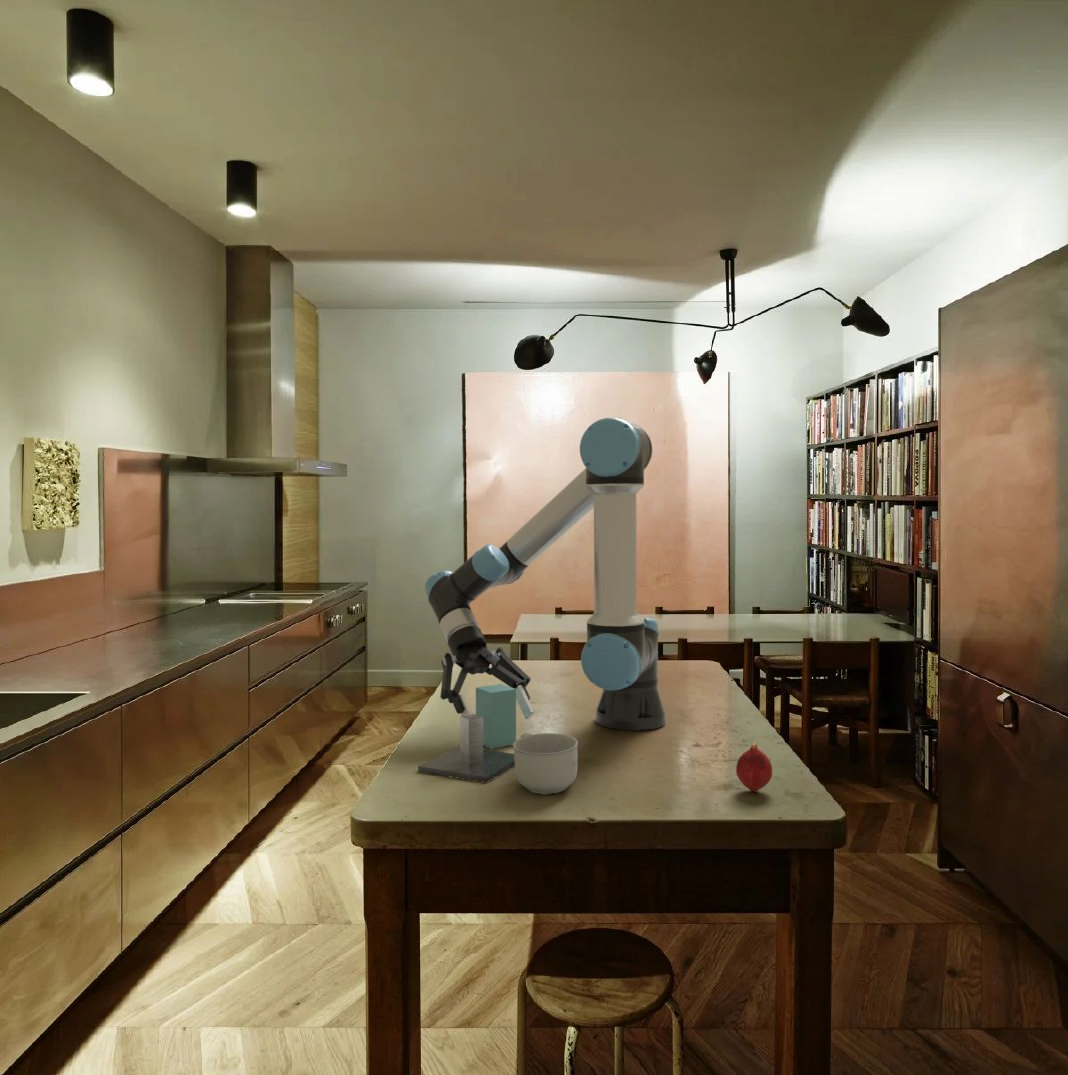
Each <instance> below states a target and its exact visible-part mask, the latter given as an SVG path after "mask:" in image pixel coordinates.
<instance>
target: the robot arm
mask: <svg viewBox="0 0 1068 1075" xmlns="http://www.w3.org/2000/svg"><path fill="white" fill-rule="evenodd" d="M579 455H580V459H581V461H582V465H583V466H584V467H585V468H584V469H583V470H582V471H581V472H580V473H579V474H578V475H577V476H576V477H575V478H573V480H572V481H570V482H569V483H568V484H567V485H566V486H565V487H563V489H562V490H561V491H559V492H558V493H557V494H556V495H555V496H554V497H553V498H552V499H551V500H550V501H549V502H548V503H546V504H545V505H544V506H543V507H542V508H541V509H540V510H539V511H538V512H537V513H536V514H534V515H533V516H532V517H531V518H530V519H529V520H528V521H527V522H526V523H525V524H524V525H523V526H521V527H520V528H519V529H518V530H517V531H516V532H515V533H514V534H513V535H512V536H510V537H509V539H507V541H506V542H504V543H503V544H502V545H501V546H500V547H499V548H498V547H497V546H495V545H493V544H486V545H484V546H483V547H482V548H480V549H479V550H476V551H475V552H474V554H473V555H471V556H470V557H469V558H468V559H467V560H466V561H464V562H463V563H462V564H461V565H460V566H459V567H458V568H457V569H456V570H455V571H451V570H440V571H438V572H437V573H434V574H431V576H429V577H428V578H427V579H426V581H425V584H424V589H425V594H426V596H427V601H428V603H429V605H430V606H431V609H432V610H433V613H434V615H435V617H436V620H437V622H438V624H439V627H440V629H441V631H442V634H443V636H444V638H445V641H446V642H447V646H448V648H449V650H450V652H446V653H445V654H444V656H443V658H442V659H441V665H442V669H443V670H442V671H443V672H442V678H441V679H442V680H441V690H440V699H441V700H444V701H445V700H446V699H447V700H448V703H449V704H453V707H454V709H455V711H456V713H457V714H459V715H461V716H466V715H472V714H473V712H472V709H471V707H470V704H469V702H468V700H467V698H466V695H465V693H464V692H463V693H461V690H462V688H463V685H464V682H465V680H466V678H467V675H468V674H470V675H473V676H474V675H476V674H485V673H486V674H487V675H489V676H491V675H492V676H494V677H495V678H497V679H498V680H499V681H501V682H503V683H504V685H506V686H508V687H511V688H514V689H516V703H517V704H518V706H519V708H520V710H521V713H522V715H523V717H524V719H525V720H530V718H531V717H532V716H533V714H534V713H535V710H534V708H533V706H532V703H531V702H530V700H531V696H530V693H529V692H528V689H527V686H528V685H529V684H530V682H531V679H532V678H531V677H530V676H529V675H528V674H527V673H526V672H525V671H523V669H521V668H520V667H519V666H518V665H517V664H516V663H515V662H514V661H513V660H512V659H511V658H510V657H509V656H507V654H506V653H505V651H504V649H503V648H502V647H501V646H499V647H497V648H496V650H492V651H491V650H490V649H489V648H488V646H487V642H486V639H485V636H484V634H483V631H482V630H481V628H480V625H479V623H478V620H477V618H476V617H475V614H474V613H473V610H472V608H471V606H470V604H471V603H473V602H474V601H475V600H476V599H477V598H478V597H479V596H481V595H482V594H483V593H484V592H486V591H487V590H489V589H490V588H495V587H498V586H503V585H509V584H513V583H515V582H516V581H518V580H519V579H520V578H521V577H522V576H523V574H524V572H525V570H526V569H527V568H528V567H529V566H530V565H531V564H532V563H533V562H535V561H536V560H537V559H538V558H540V556H542V554H544V553H545V552H546V551H547V550H548V549H549V548H551V547H552V545H554V544H555V543H556V542H557V541H558V540H559V539H560V538H561V537H563V536H564V535H565V534H566V533H567V532H569V530H571V528H572V527H574V526H575V525H576V524H578V522H579V521H580V520H581V519H582V518H584V516H586V515H587V514H588V513H589V512H590V511H591V510H593V581H594V582H593V584H594V585H593V588H594V589H593V593H594V594H593V595H594V596H593V598H594V599H593V603H594V604H593V605H594V606H593V607H594V608H593V609H594V610H593V614H592V615H591V616H589V617H588V619H587V621H586V643H585V644H584V645H583V648H582V651H581V654H580V664H581V669H582V671H583V673H584V675H585V677H586V679H588V680H589V681H590V682H591V683H592V684H593V685H594V686H596V687H598V688H600V689H602V692H601V695H600V698H599V701H598V704H597V707H596V710H595V722H596V723H597V724H598V725H600V726H602V727H605V728H609V729H613V730H621V731H622V730H623V731H648V730H654V729H658V728H661V727H663V726H665V724H666V711H665V708H664V704H663V701H662V697H661V694H660V691H659V688H658V687H659V686H658V684H659V683H658V672H659V669H658V666H659V665H658V664H659V663H658V662H659V661H658V660H659V657H658V656H659V635H660V634H659V627H658V622H657V620H656V619H654V618H647V617H646V618H643V617H641V615H640V614H638V610H637V609H638V606H637V604H638V600H637V598H638V597H637V595H638V594H637V592H638V591H637V588H638V587H637V586H638V585H637V584H638V583H637V578H638V577H637V576H638V575H637V574H638V573H637V572H638V571H637V570H638V569H637V568H638V566H637V564H638V563H637V561H638V560H637V559H638V557H637V553H638V552H637V494H638V493H639V491H641V489H642V488H643V487H644V486H645V484H644V483H645V470H646V469H647V467H648V466H649V463H651V460H652V457H653V456H652V455H653V445H652V440H651V437H650V436H649V434H648V433H647V431H646V430H645V429H643V428H642V427H641V426H640V425H637V424H635V423H632V422H630V421H629V420H628V419H625V418H622V417H605V418H601V419H598V420H596V421H594V422H592V424H590V425H589V426H588V427H587V429H586V430H585V431H584V432H583V435H582V437H581V439H580V442H579ZM454 664H456V665H457V666H458V667H459V668H461V669H460V671H459V674H458V677H457V678H456V681H455V684H454V686H453V688H452V689H451V687H452V679H453V668H454ZM490 665H491V667H490Z"/></svg>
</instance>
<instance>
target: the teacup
mask: <svg viewBox="0 0 1068 1075" xmlns="http://www.w3.org/2000/svg"><path fill="white" fill-rule="evenodd" d="M578 745H579V741H578V739H576V738H575V737H573V736H571V735H567V734H562V733H554V732H553V733H551V732H550V733H549V732H547V733H545V732H544V733H535V734H531V733H529V732H526V733H522V734H521V735H520V738H518V739H516V741H515V742H514V744H513V745H512V748H513V754H514V759H515V766H514V770H515V771H514V772H515V775H516V779H517V781H518V782H519V783H520V784H521V786H523V787H524V788H526V790H528V791H529V792H531V791H532V792H531V793H533V792H534V794H537V793H554V794H558V793H562V792H563V791H566V789H568V787H569V786H570V785H572V783H574V782H575V780H576V777H577V774H578V761H579V760H578V757H579V756H578Z"/></svg>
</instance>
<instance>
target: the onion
mask: <svg viewBox="0 0 1068 1075" xmlns="http://www.w3.org/2000/svg"><path fill="white" fill-rule="evenodd" d="M735 770H736V771H735V772H736V776H737V778H738V780H739V781H740V782H741V784H742V785H743V786H744V787H745V788H747V789H748V790H749V791H751V792H752V791H753V792H752V793H756V792H758V791H759V790H761V789H762V788H764V787H765V786H767V785H768V784H769V783H770V781H771V779H772V776H773V765H772V762H771V760H770V759H769V757H768V756H767V755H766V754H765V753H764V751H762V750H760V749H759V747H758V744H757V743H755V742H754V743H751V744H750V748H749V749H748V750H746V751H744V752H743V753H742V754H741V755H740V756H739V758H738V759H737V762H736V767H735Z"/></svg>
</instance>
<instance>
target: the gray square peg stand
mask: <svg viewBox="0 0 1068 1075" xmlns="http://www.w3.org/2000/svg"><path fill="white" fill-rule="evenodd" d="M459 718H460V731H459V732H460V745H458V746H454V747H453V748H451V749H449V750H447V751H445V752H443V753H442V754H440V755H437V756H435V757H434V758H431V759H430V760H429V759H428V760H427V761H426V762H424V763H422V764H420V765H417V771H418V772H417V773H423V772H424V773H423V774H429V773H430V775H434V776H435V775H436V776H442V777H443V776H444V777H448V776H452V777H451V778H454V777H458V778H457V779H460V778H464V779H463V780H466V779H470V780H469V781H473V780H477V781H476V782H479V781H484V782H483V783H485V782H488V781H490V780H491V779H493V778H494V777H496V776H498V777H499V776H501V775H503V774H504V773H505V771H506V770H507V771H509V770H510V769H512V768H514V767H515V759H514V753H511V752H506V751H505V752H504V751H497V750H492V749H490V750H489V749H484V745H483V717H481V716H478V715H476V713H472V715H466V716H462V715H461V716H460V717H459ZM513 766H514V767H513ZM509 768H510V769H509ZM508 769H509V770H508ZM507 771H506V772H507ZM503 772H504V773H503ZM500 774H501V775H500ZM496 778H497V777H496ZM494 779H495V778H494ZM494 779H493V780H494ZM491 781H492V780H491ZM491 781H490V782H491ZM488 783H489V782H488Z"/></svg>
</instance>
